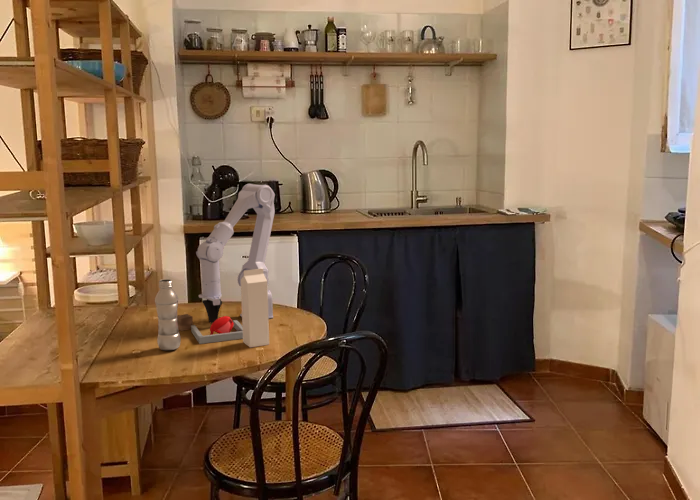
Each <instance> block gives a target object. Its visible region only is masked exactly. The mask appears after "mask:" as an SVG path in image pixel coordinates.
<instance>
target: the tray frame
mask: <svg viewBox="0 0 700 500" xmlns="http://www.w3.org/2000/svg"><path fill="white" fill-rule="evenodd" d="M232 321H233V323H234V325H233V328H234V329H235V330H236V331H231V332H230V333H222V334H218V333H215V334H214V333H213V334H212V335H210V334H206V335H203V334H202V333H201V331H200V330H199V329H198V327H197V325H195V324H193V325H191V329H190V332H191V333H192V334H193V337H194V338H195V340H196V341H197V342H198V344H199V345H203V344H211V343H218V342H227V341H233V340H234V341H235V340H243V327H242V323H241V322H239V321H238V320H237V319H235V320H233V319H232Z"/></svg>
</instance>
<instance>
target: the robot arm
mask: <svg viewBox="0 0 700 500" xmlns="http://www.w3.org/2000/svg"><path fill="white" fill-rule="evenodd" d="M275 196H276V194H275V192H274V190H273V189H272V188H271V187H270V185H268V184H254V183H247V184H245V185H243V186H242V189H241V190H240V191H239V192H238V195H237V199H236V201H235V202H234V204H233V206H232V207H231V210H230V211H229V213H227V215H226V217H225V219H224V220H223V221H220V222H218V223H217V224H214V226H213V230H212V231H211V233H210V234H209V236H208V237H206V238H205V241H203V242H201V243H200V244H199V245H198V246H197V247H198V248H197V251H195V254H196V257H197V258H198V260H199V262H200V263H199V264H200V273H201V289H202V291H201V292H202V293H200V294H198V298H199V299H203V300H201V301H202V304H203V305H204V308H205V311H206V316H207V319H208V322H209V323H210V324H212V323H213V322H214V321H215V320H217V319H218V318H219V312H220V308H221V306H222V304H223V301H222V299H221V298H222V291H221V290H222V287H221V271H220V270H221V268H220V260H221V259H222V258H223V255H224V249H225V246H226V245H227V244H228V242H229V240H230V239H231V237H232V236H233V235H234V233H235V231H234V227H235V225H236V224H238V222H239V221H240V219H241V218H242V217H243V216H244V214H245V213H246V212H247V211H248V210H249V209H253V210H254V211H255V214H256V220H255V224H254V227H253V228H254V229H253V234H252V239H251V243H250V250H249V254H248V259H247V261H246V262H244V263H243V264H242V267H241V271H240V272H239V273H238V275H237V284H238V285H239V287H240V288H241V279H242V277H243V276H244V270H253V269H263V274H264V276H265V278H266V279H267V288H268V286H269V285H270V283H269V282H270V281H269V271H270V270H269V269H268V267H267V266H266V264H265V263H266V259H267V253H268V250H269V249H268V248H269V242H270V238H271V234H272V233H271V232H272V229H273V223H274V219H275V218H274V217H275V213H276V211H275V210H276V209H275V204H274V203H275ZM273 306H274V305H273V295H272V292H271V290H270V289H268V319H273V318H274V312H273V310H274V309H273ZM239 316H240V317H241V318H242V313H240V314H239Z"/></svg>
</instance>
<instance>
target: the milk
mask: <svg viewBox="0 0 700 500" xmlns="http://www.w3.org/2000/svg"><path fill="white" fill-rule="evenodd" d="M268 290H269V289H268V287H267V279H266V278H265V276H264V274H263V269H253V270H244V276H243V277H242V279H241V287H240V295H241V296H240V297H241V299H240V300H241V314H242V317H241V319H242V320H241V321H242V322H241V325H242V327H243V339H242V342H243V343H244V344H245V345H246V346H248V347H249V348H255V347H261V346H269V345H270V329H269V328H270V327H269V326H270V325H269V322H270V321H269V319H270V318H268Z"/></svg>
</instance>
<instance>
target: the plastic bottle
mask: <svg viewBox="0 0 700 500" xmlns="http://www.w3.org/2000/svg"><path fill="white" fill-rule="evenodd" d="M158 288H159V290H158V292H157V293H156V294H155V295H156V296H155V297H154V303H155V308H156V313H157V321H158V325H157V327H158V329H157V330H158V334H157V339H156V341H157V346H158V348H159V349H160V350H162V351H174V350H177V349H178V348H179V347H180V346H181V335H180V330H178V322H177V316H178V307H179V306H178V304H179V297H178V294H177V293H176V292H175V290H174V289H173V280H172V279H170V278H169V279H167V278H166V279H159V281H158Z"/></svg>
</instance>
